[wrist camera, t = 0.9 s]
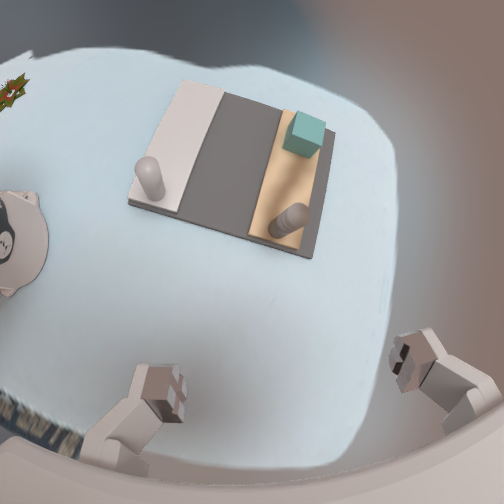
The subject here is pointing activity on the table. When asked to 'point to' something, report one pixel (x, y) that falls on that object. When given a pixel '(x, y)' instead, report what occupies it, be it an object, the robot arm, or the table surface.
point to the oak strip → (284, 193)
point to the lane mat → (243, 173)
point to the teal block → (304, 135)
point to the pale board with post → (175, 146)
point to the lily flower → (12, 85)
